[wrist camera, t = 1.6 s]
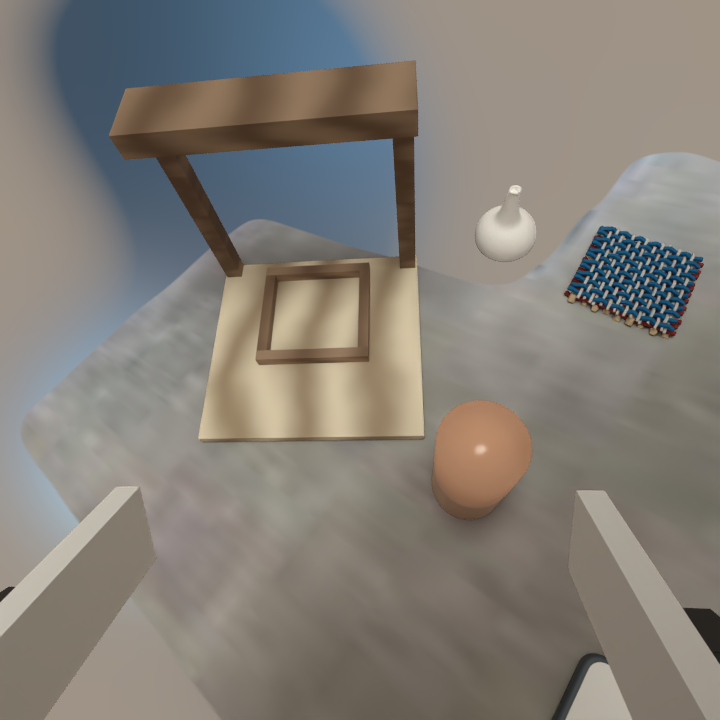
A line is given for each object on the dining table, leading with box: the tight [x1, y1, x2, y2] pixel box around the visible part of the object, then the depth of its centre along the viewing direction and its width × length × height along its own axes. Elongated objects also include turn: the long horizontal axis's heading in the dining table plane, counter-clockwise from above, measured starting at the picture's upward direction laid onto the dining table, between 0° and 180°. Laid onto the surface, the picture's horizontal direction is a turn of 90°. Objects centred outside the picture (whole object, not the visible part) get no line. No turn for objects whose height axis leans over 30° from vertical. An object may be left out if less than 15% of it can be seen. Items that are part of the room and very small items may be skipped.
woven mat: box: [564, 226, 704, 339], centre depth 48 cm, size 10×11×2 cm
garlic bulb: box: [475, 185, 536, 262], centre depth 49 cm, size 6×6×8 cm
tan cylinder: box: [432, 400, 532, 520], centre depth 36 cm, size 6×6×12 cm
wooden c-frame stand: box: [109, 61, 424, 442], centre depth 39 cm, size 21×20×22 cm
